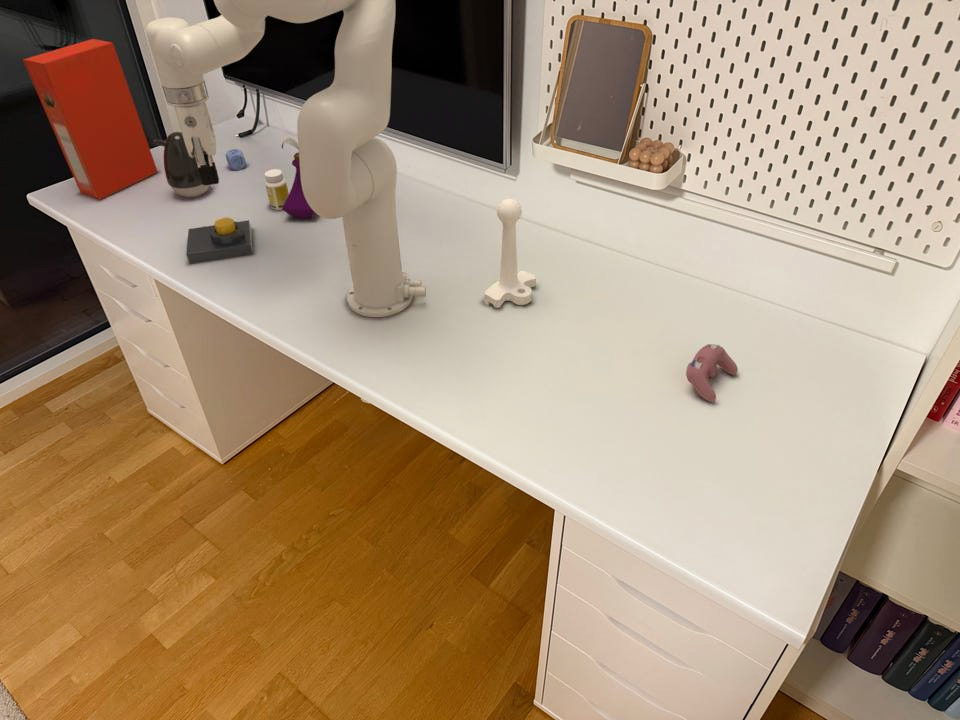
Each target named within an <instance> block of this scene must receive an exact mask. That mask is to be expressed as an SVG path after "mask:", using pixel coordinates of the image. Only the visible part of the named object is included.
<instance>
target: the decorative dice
mask: <svg viewBox="0 0 960 720" xmlns="http://www.w3.org/2000/svg"><path fill="white" fill-rule="evenodd" d="M225 159H226V162H227V165H228V168H229V169H230V170H235V171H238V170H242V169H245V167H246V166H247V162H246V158H245V155H244V152H243V151H242V150H241V149H239V148H234V149H233V148H232V149H229V150H228V151H226V153H225Z"/></svg>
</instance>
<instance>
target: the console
mask: <svg viewBox="0 0 960 720" xmlns="http://www.w3.org/2000/svg"><path fill="white" fill-rule="evenodd" d="M234 223H235V227H236V230H235V231H234V232H232V233H230V234H225V235H221V234H217V232H216V228H215V225H214V224H213V225H207V226H206V225H205V226H200V227H193V228H188V231H187V232H188V233H187V243H186V252H185V254H186V257H187V260H188V261H187V262H188V263H189V264H190V265H192V264H198V263H199V264H200V263H206V262H212V261H218V260H225V259H232V258H238V257H243V256H250V255H251V256H252V255H254V248H253V232H252V231H253V230H252V226H251V223H250V219H248V220H242V221H234Z"/></svg>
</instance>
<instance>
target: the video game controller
mask: <svg viewBox="0 0 960 720" xmlns="http://www.w3.org/2000/svg"><path fill="white" fill-rule="evenodd" d="M717 366H718V367H719V368H721V369H722V370H723V371H724V372H726V373H727V374H730V375H732V376H735V375H736V374H737V373H738V371H739V370H738V369H739V368H738V366H737V364H736V362H735V361H734V360H733V359H732V357H731V356H730V355H729V353H727V351H726V350H725V348H724V347H723V346H720V344H715V343H708V344H706V345H704V346H702V347H700V349H699V350H698V351H697V353H696V354H695V355H694V357H693V359H692V361H691V362H689V363H688V364H687V366H686V373H685V374H686V375H685V376H686V379H687V381H688V383H690V384H691V385H692V387H693V388H694V390H695V392H696V393H698V395H699V396H700V397H702V398H703V399H704V400H705V401H706V402H711V403H712V402H714V401H716V399H717V395H716V392H715V390H714V389H713V387H712V386H711V385H710V383H709V377H715V376H716V375H717V371H718V367H717Z"/></svg>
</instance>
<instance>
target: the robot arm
mask: <svg viewBox="0 0 960 720" xmlns="http://www.w3.org/2000/svg"><path fill="white" fill-rule="evenodd" d="M213 2H214V3H213V4H214V5H215V8H216V10H217V11H218V12H219V14H220V15H219V16H217V17H214V18H211V19H208V20H205V21H202V22H199V23H194V24H192V25H190V23H188V21H187V20H185V19H183V18H180V17H162V18H157V19H154V20H152V21H150V22H148V23H147V25H146V27H145V34H146V39H147V41H148V44H149V48H150V51H151V53H152V54H151V55H152V58H153V61H154V65H155V67H156V71H157V75H158V77H159V80H160V85H161V87H162V90H163V95H164V97H165V101H166V104H167V105H169V106H171V107H174V110H175V113H176V114H175V115H176V118H177V121H178V124H179V129H180V132H182V135H183V139H184V142H185V145H186V148H187V151H188V154H189V156H190V157H192V158H194V156H195V159H196V162H197V165H198V170H199V174H200V177H201V181H202V184H203V185H210V186H211V185H219V183H220V178H219V174H218V170H217V167H216V163H215V161H214V158H213V157H214V156H215V155H216V152H217V136H216V132H215V129H214V126H213V122H212V119H211V116H210V113H209V109H208V106H207V103H206V102H207V101H208V100H209V92H208V89H207V86H206V82H205V77H204V75H206V74H208V73H210V72H213V71H215V70H218V69H220V68H222V67H225V66H228V65H230V64H233V63H235V62H238V61H240V60H242V59H244V58H245V57H246V56H247V55H249V53H250V52H251V51H252V50H253V49H254V48H255V47H256V46H257V45H258V43H259V42H260V41H261V40H262V38H263V37H264V35H265V31H266V18H267V17H268V16H269V17H272V18H274V19H277V20H281V21H285V22H288V23H293V24H305V23H306V24H307V23H311V22H314V21H317V20H319V19H323V18H325V17H328V16H331V15H332V14H335V13H338V12H341V11H343V18H342V21H341V23H340V26H339V29H338V32H337V35H336V39H335V43H334V78H333V81H332V83H331V85H330V86H329V87H326V88H323V90H321V91H318V92H316V93H315V94H313V95H311V96H310V97H309V98H307V99H306V100H305V102H304V103H303V104H302V106H301V107H300V111H299V114H298V116H297V124H296V126H297V128H296V130H297V144H298V148H299V150H298V152H299V163H300V177H301V185H302V190H303V193H304V196H305V199H306V201H307V203H308V204H309V206H310V207H311V209H312V210H313V211H314V212H315V213H314V214H316V215H318V216H319V217H321V218H324V219H328V220H336V219H340V218H342V225H343V232H344V238H345V244H346V250H347V256H348V263H349V268H350V276H351V281H352V286H351V288H350V289H349V290H348V292H347V295H346V300H347V305H348V307H349V309H351V311H353V312H354V313H356V314H358V315H360V316H363V317H368V318H383V317H384V318H385V317H388V316H393V315H396V314H397V313H398V314H399V313H400V312H401V311H403V310H405V309H406V308H407V307H409V305H410V304H411V302H412V300H413V297H426V296H427V286H425V285H424V286H423V285H422V284H423V283H422V279H421V280H419V279H418V280H417V279H415V280H410V279H409V278H408V276H407V271H403V267H402V258H401V248H400V240H399V239H400V237H399V231H398V220H397V209H396V190H397V182H398V181H397V179H398V168H397V167H398V166H397V160H396V157H395V155H394V152H393V151H392V149H391V148H390V146H389V145H388V144H387V143H386V142H385V141H383V140H382V139H380V138H378V137H377V136H378V135H381V133H382V132H384V131H385V130H386V128H387V127H388V125H389V122H390V117H391V103H392V102H391V99H392V74H393V73H392V72H393V71H392V70H393V69H392V67H393V65H392V64H393V63H392V60H393V58H392V56H393V43H394V42H393V41H394V33H395V24H396V0H213Z"/></svg>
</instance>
